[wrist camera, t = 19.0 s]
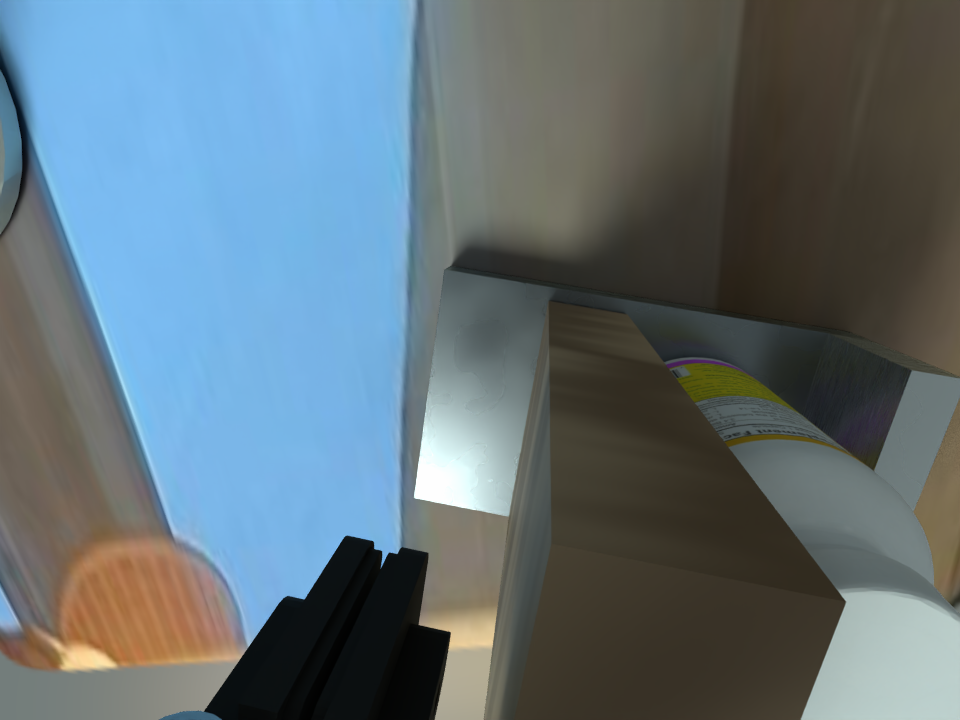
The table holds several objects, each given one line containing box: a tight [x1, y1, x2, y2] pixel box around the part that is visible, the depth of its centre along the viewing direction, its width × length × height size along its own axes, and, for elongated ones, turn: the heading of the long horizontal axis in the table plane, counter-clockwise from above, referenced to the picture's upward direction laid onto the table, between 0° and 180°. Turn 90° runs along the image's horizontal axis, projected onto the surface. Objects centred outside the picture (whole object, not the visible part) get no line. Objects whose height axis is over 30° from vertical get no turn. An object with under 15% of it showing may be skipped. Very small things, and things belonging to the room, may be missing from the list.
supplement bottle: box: [664, 357, 960, 720], centre depth 16 cm, size 7×7×13 cm
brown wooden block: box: [484, 301, 846, 720], centre depth 15 cm, size 3×9×16 cm, turn 171°
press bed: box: [414, 266, 960, 516], centre depth 21 cm, size 16×10×6 cm, turn 81°
